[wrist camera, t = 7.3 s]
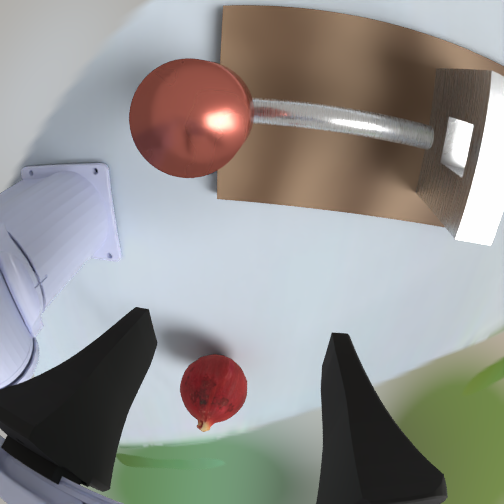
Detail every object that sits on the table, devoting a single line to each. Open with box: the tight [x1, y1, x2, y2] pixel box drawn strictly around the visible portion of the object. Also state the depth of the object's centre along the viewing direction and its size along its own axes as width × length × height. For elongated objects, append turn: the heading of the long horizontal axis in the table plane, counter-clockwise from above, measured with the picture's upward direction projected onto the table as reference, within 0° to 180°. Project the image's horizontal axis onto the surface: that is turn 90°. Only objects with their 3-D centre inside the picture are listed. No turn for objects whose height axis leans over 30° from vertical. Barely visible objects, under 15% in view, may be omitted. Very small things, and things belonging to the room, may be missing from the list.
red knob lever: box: [129, 59, 434, 178], centre depth 13 cm, size 12×4×7 cm, turn 87°
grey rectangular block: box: [415, 68, 504, 245], centre depth 13 cm, size 2×8×6 cm, turn 177°
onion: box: [180, 354, 247, 432], centre depth 25 cm, size 6×6×8 cm
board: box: [217, 5, 504, 227], centre depth 16 cm, size 19×12×1 cm, turn 87°
